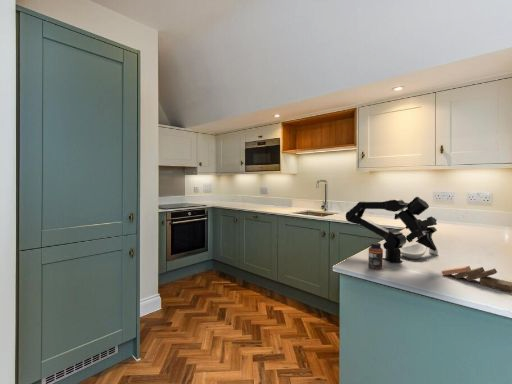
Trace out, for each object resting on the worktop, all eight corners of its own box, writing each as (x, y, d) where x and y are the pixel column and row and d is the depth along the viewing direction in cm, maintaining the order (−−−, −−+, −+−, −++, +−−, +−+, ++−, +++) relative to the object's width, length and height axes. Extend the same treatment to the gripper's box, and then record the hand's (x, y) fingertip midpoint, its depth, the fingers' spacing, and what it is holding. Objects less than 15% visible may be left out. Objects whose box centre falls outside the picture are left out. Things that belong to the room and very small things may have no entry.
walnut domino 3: (479, 277, 108) (510, 285, 101) (485, 275, 111) (515, 283, 103) (479, 282, 108) (509, 290, 101) (485, 279, 111) (514, 287, 103)
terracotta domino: (441, 271, 119) (464, 267, 112) (446, 269, 122) (469, 265, 115) (442, 275, 119) (466, 271, 112) (447, 273, 121) (471, 269, 115)
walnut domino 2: (465, 277, 112) (490, 270, 106) (470, 275, 115) (494, 268, 108) (468, 281, 111) (493, 274, 105) (472, 278, 114) (497, 272, 108)
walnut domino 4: (480, 282, 108) (511, 289, 101) (483, 279, 111) (514, 286, 105) (480, 286, 108) (511, 293, 101) (483, 283, 112) (513, 290, 105)
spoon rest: (414, 262, 138) (415, 247, 137) (393, 255, 148) (394, 242, 148) (444, 256, 148) (445, 243, 147) (422, 251, 158) (423, 238, 158)
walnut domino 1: (454, 275, 115) (477, 269, 108) (459, 272, 118) (482, 266, 111) (456, 278, 114) (480, 273, 108) (461, 276, 117) (484, 270, 111)
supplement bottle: (378, 265, 130) (379, 241, 130) (384, 270, 124) (385, 244, 124) (365, 265, 130) (366, 241, 129) (371, 270, 124) (372, 244, 123)
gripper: (414, 212, 121) (442, 242, 112) (433, 209, 132) (459, 237, 124) (395, 227, 127) (420, 257, 119) (414, 223, 139) (438, 250, 130)
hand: (435, 250), depth 123 cm, fingers closed
